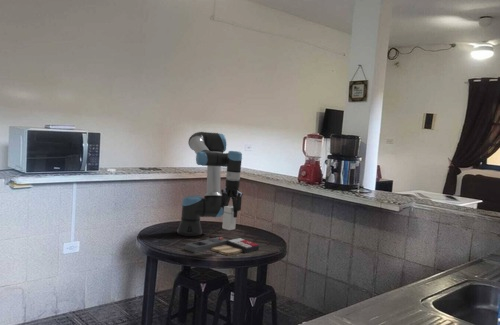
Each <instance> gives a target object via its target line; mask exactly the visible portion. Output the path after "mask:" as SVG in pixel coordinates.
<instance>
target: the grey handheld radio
mask: <svg viewBox="0 0 500 325" xmlns="http://www.w3.org/2000/svg"><path fill="white" fill-rule="evenodd" d="M228 240H229V239H226V238H224V237H223V236H222V237H218V236H217V237H213V238H212V237H211V238H207V239H203V240H199V241H198V240H197V241H194V242H189V243H185V245H184V251H185V250H186V251H187V252H192V253H195V254H198V253H201V252H206V251H210V250H211V248H213V247H218V246H222V245H227V241H228ZM211 251H212V250H211Z"/></svg>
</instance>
